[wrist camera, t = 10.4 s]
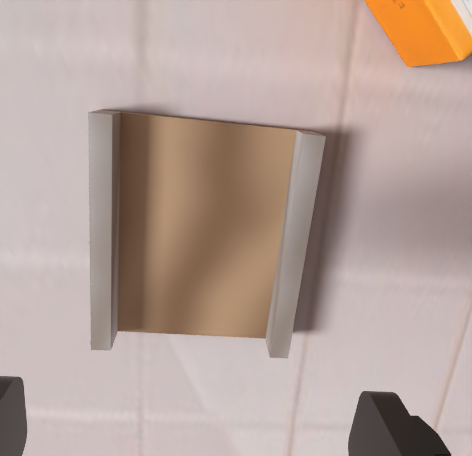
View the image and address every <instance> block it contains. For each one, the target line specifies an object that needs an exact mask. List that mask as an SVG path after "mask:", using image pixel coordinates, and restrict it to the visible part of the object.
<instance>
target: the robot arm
mask: <svg viewBox="0 0 472 456" xmlns="http://www.w3.org/2000/svg"><path fill="white" fill-rule="evenodd" d="M26 437H27V420H26V408H25V397H24V385H23V380H22V378H21V377H9V376H0V456H22V454H23V451H24V447H25V443H26ZM348 452H349V456H451V453H450V452H449V450H448V449H447V447H446V446H445V444H444V443H443V441H442V440H441V438H440V436H439V435H438V434H437V433H436V432H435V431H434V430H433V429H432V428H431V427H430V426H429V425H428V424H426V423H425V422H424V421H423V420H422V419H421V418H420V417H419V416H410V414H409V413H408V411H407V409H406V408H405V406H404V404H403V403H402V401H401V400H400V398H399V397H398V395H397V394H396V393H393V392H373V391H363V392H362V393H361V395H360V397H359V401H358V405H357V409H356V412H355V416H354V420H353V424H352V428H351V432H350V436H349V442H348Z"/></svg>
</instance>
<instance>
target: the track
mask: <svg viewBox="0 0 472 456" xmlns="http://www.w3.org/2000/svg"><path fill="white" fill-rule="evenodd" d="M88 119H89V206H90V293H91V350H111V348H112V346H113V343H114V340H115V337H116V335H117V332H118V331H126V332H146V333H167V334H187V335H208V336H228V337H249V338H265V339H266V343H267V347H268V351H269V355H270V358H288V355H289V349H290V344H291V338H292V332H293V326H294V320H295V314H296V309H297V303H298V297H299V291H300V285H301V279H302V273H303V268H304V262H305V256H306V250H307V244H308V238H309V233H310V227H311V221H312V215H313V209H314V203H315V198H316V192H317V186H318V180H319V174H320V168H321V163H322V157H323V151H324V145H325V139H326V136H324V135H322V134H319V133H317V132H314V131H308V130H298V129H288V128H278V127H268V126H259V125H249V124H239V123H229V122H219V121H210V120H200V119H190V118H180V117H170V116H161V115H151V114H141V113H131V112H121V111H111V110H97V111H92V112H88Z"/></svg>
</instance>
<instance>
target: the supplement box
mask: <svg viewBox="0 0 472 456" xmlns="http://www.w3.org/2000/svg"><path fill="white" fill-rule="evenodd" d="M365 2H366V4H367V5H368V7H369V8H370V10H371V11H372V13H373V14H374V16H375V18H376V19H377V21H378V22H379V24H380V25H381V27H382V28H383V30H384V31H385V33H386V35H387V36H388V38H389V39H390V41H391V42H392V44H393V45H394V46H395V48H396V50H397V52H398V54H399V55H400V57H401V59H402V60H403V61H404V63H405V64H406V66H407V67H413V66H422V65H431V64H442V63H447V62H457V61H462V60H464V59H465V58H467V57H468V56H469V55H470V54H472V0H365Z"/></svg>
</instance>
